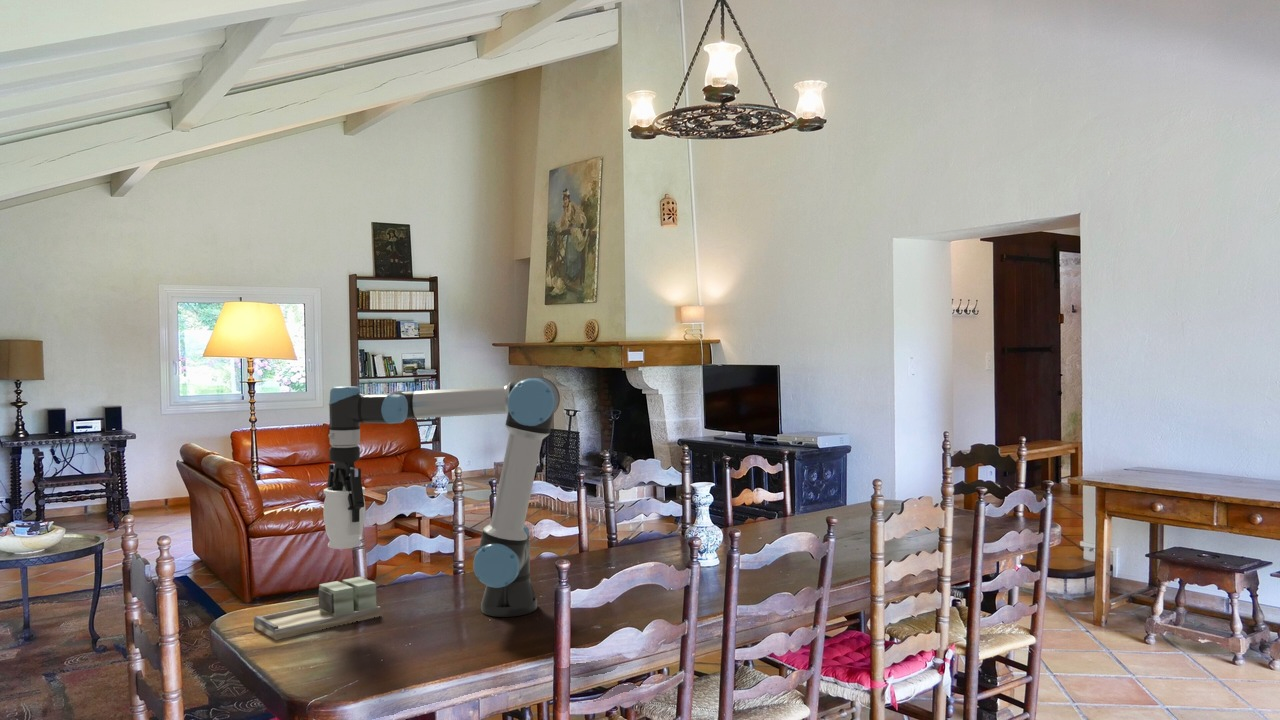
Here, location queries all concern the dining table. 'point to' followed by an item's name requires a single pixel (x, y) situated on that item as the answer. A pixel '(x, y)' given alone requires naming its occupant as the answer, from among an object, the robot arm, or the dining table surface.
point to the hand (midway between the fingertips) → (344, 531)
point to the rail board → (325, 610)
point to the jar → (340, 519)
